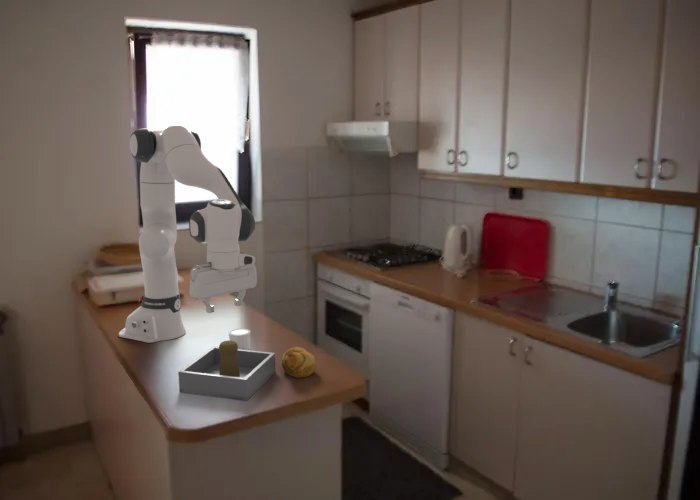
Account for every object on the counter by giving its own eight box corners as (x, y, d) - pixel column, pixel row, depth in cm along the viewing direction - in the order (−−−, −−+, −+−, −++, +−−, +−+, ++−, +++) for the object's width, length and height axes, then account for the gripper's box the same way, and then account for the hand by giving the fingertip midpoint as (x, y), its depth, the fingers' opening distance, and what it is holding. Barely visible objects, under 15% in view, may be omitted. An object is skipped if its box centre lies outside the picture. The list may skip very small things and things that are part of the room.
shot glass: (241, 358, 195) (240, 336, 194) (224, 353, 199) (224, 332, 198) (255, 351, 201) (255, 330, 200) (239, 347, 205) (238, 326, 203)
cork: (234, 384, 174) (233, 346, 171) (215, 381, 175) (213, 344, 173) (244, 375, 179) (242, 339, 177) (224, 373, 181) (223, 337, 179)
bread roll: (277, 365, 190) (276, 340, 188) (308, 361, 193) (308, 337, 191) (287, 382, 178) (286, 355, 176) (320, 377, 181) (319, 351, 179)
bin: (179, 392, 171) (178, 371, 169) (214, 365, 190) (213, 346, 188) (246, 401, 165) (246, 379, 164) (275, 372, 184) (275, 353, 183)
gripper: (197, 267, 161) (198, 319, 163) (259, 256, 175) (260, 304, 178) (183, 263, 165) (185, 314, 167) (246, 253, 179) (246, 299, 182)
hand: (224, 308), depth 173 cm, fingers open, 8 cm apart
